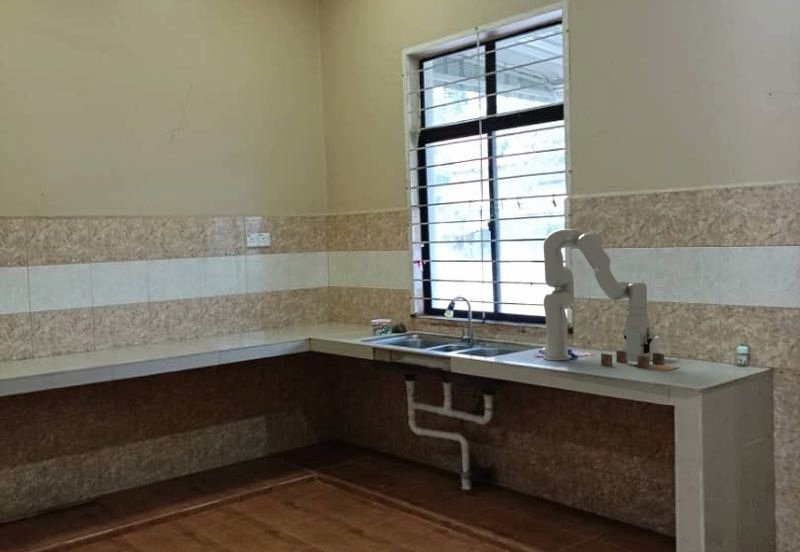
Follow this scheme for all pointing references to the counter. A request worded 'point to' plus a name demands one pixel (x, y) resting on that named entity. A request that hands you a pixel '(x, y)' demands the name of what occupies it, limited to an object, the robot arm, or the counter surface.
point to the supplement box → (635, 346)
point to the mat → (663, 367)
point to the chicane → (642, 360)
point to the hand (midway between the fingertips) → (638, 351)
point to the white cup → (654, 346)
